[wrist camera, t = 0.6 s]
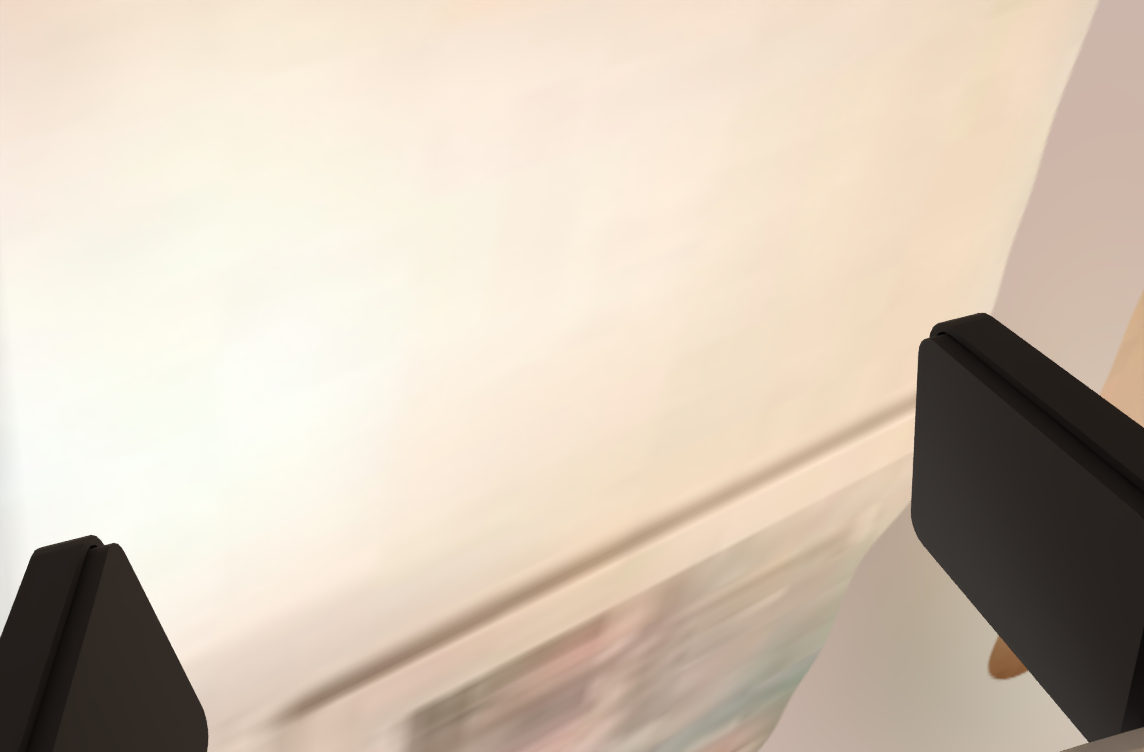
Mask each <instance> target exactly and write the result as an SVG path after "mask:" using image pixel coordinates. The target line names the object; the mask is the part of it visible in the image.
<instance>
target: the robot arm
mask: <svg viewBox="0 0 1144 752" xmlns="http://www.w3.org/2000/svg"><path fill="white" fill-rule="evenodd" d="M911 519H912V523H913V527H914V530H915V532H916V534H917V537H918V538H919V540H920V541H921V543H922V544H923V545H924V547H925V548H926V549H927V550H928V551H929V553H930V554H931V555H932V556H933V557H934V558H935V560H936V561H937V562H938V563H939V565H940V566H941V567H942V568H943V569H944V570H945V572H946V573H947V574H948V575H949V576H950V578H951V579H952V580H953V581H954V582H955V584H956V585H957V586H958V587H959V588H960V589H961V590H962V592H963V593H964V594H965V595H966V596H967V598H968V599H969V600H970V601H971V603H972V604H973V605H974V606H975V607H976V608H977V610H978V611H979V612H980V613H981V614H982V616H983V617H984V618H985V619H986V620H987V622H988V623H989V624H990V625H991V626H992V627H993V629H994V630H995V631H996V632H997V634H998V635H999V636H1000V637H1001V638H1002V639H1003V641H1004V642H1005V643H1006V644H1007V645H1008V647H1009V648H1010V649H1011V650H1012V651H1013V653H1014V654H1015V655H1016V656H1017V657H1018V659H1019V660H1020V661H1021V662H1022V663H1023V664H1024V666H1025V667H1026V668H1027V669H1028V670H1029V672H1030V673H1031V674H1032V675H1033V676H1034V677H1035V679H1036V680H1037V681H1038V682H1039V684H1040V685H1041V686H1042V687H1043V688H1044V689H1045V691H1046V692H1047V693H1048V694H1049V695H1050V697H1051V698H1052V699H1053V700H1054V701H1055V703H1056V704H1057V705H1058V706H1059V707H1060V708H1061V710H1062V711H1063V712H1064V713H1065V714H1066V716H1067V717H1068V718H1069V719H1070V720H1071V722H1072V723H1073V724H1074V725H1075V726H1076V727H1077V729H1078V730H1079V731H1080V732H1081V733H1082V735H1083V736H1084V737H1085V738H1086V739H1087V741H1088V742H1089V743H1087V744H1083V745H1080V746H1077V747H1073V748H1070V749H1067V750H1063V751H1060V752H1144V428H1143V427H1142V426H1141V425H1139V424H1138V423H1136V422H1135V421H1134V420H1132V419H1131V418H1130V417H1128V416H1127V415H1126V414H1124V413H1123V412H1121V411H1120V410H1119V409H1117V408H1116V407H1115V406H1113V405H1112V404H1111V403H1109V402H1108V401H1106V400H1105V399H1104V398H1102V397H1101V396H1100V395H1098V394H1097V393H1096V392H1094V391H1093V390H1091V389H1090V388H1089V387H1087V386H1086V385H1085V384H1083V383H1082V382H1080V381H1079V380H1078V379H1076V378H1075V377H1074V376H1072V375H1071V374H1069V373H1068V372H1067V371H1065V370H1064V369H1063V368H1061V367H1060V366H1059V365H1057V364H1056V363H1055V362H1053V361H1052V360H1050V359H1049V358H1048V357H1046V356H1045V355H1044V354H1042V353H1041V352H1040V351H1038V350H1037V349H1036V348H1034V347H1033V346H1031V345H1030V344H1028V343H1027V342H1026V341H1024V340H1023V339H1022V338H1020V337H1019V336H1018V335H1016V334H1015V333H1014V332H1012V331H1011V330H1010V329H1008V328H1007V327H1006V326H1004V325H1003V324H1001V323H1000V322H999V321H997V320H996V319H995V318H993V317H992V316H990V315H988V314H986V313H977V314H973V315H969V316H965V317H961V318H957V319H953V320H949V321H945V322H941V323H938V324H936V325H935V326H934V327H933V329H932V331H931V333H930V338H927V339H924V340H923V341H922V342H921V344H920V346H919V352H918V373H917V394H916V415H915V436H914V457H913V479H912V500H911ZM207 748H208V727H207V721H206V717H205V713H204V710H203V708H202V706H201V704H200V702H199V700H198V698H197V696H196V694H195V692H194V690H193V688H192V686H191V684H190V682H189V680H188V678H187V676H186V674H185V672H184V670H183V668H182V666H181V664H180V662H179V660H178V658H177V656H176V654H175V652H174V650H173V648H172V646H171V644H170V642H169V640H168V638H167V636H166V634H165V632H164V630H163V628H162V626H161V624H160V622H159V620H158V618H157V616H156V614H155V612H154V610H153V608H152V606H151V604H150V602H149V600H148V598H147V596H146V594H145V592H144V590H143V588H142V586H141V584H140V582H139V580H138V578H137V576H136V574H135V572H134V570H133V568H132V566H131V564H130V562H129V560H128V558H127V556H126V554H125V552H124V551H123V549H122V548H121V547H120V546H119V545H118V544H116V543H112V544H108V545H104V544H103V543H102V541H101V540H100V539H99V538H98V537H97V536H94V535H89V536H85V537H81V538H77V539H73V540H69V541H65V542H61V543H57V544H53V545H49V546H45V547H41V548H39V549H37V550H35V551H34V553H33V555H32V556H31V559H30V561H29V564H28V566H27V569H26V572H25V574H24V577H23V580H22V582H21V585H20V587H19V590H18V593H17V595H16V598H15V601H14V603H13V606H12V609H11V611H10V614H9V616H8V619H7V622H6V624H5V627H4V630H3V632H2V635H1V637H0V752H207Z"/></svg>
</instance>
